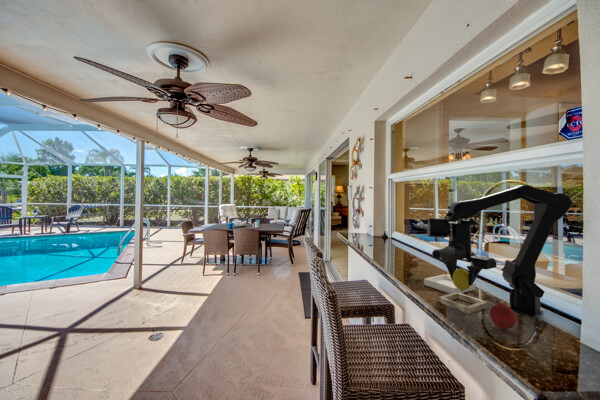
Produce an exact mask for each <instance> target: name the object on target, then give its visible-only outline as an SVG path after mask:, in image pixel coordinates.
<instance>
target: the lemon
mask: <svg viewBox="0 0 600 400" xmlns="http://www.w3.org/2000/svg"><path fill="white" fill-rule="evenodd" d="M452 280H453V283H454V285H455V286H456V287H457V288H459V289H460V290H461V291H464V290H466V289H468V288H469V287H470V285H469V271H467V270H466V269H464V268H463V267H460V268H456V270H455V271H454V273H453V277H452Z"/></svg>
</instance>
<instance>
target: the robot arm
mask: <svg viewBox="0 0 600 400" xmlns="http://www.w3.org/2000/svg"><path fill="white" fill-rule="evenodd" d="M522 199H523V200H524V201H526V202H528V203H530V204H533V205H534V206H533V214H534V216H533V217H534V218H533V221H532V223H531V225H530V228H529V230H528V231H527V234H526V236H525V238H524V240H523V242H522V245H521V247H520V248H519V252H518V253H517V255H516V257H515V258H514V259H513V260H509V259H506V260H505V262H504V266H503V267H502V268H501V269H500V271H501V272H502V273H501V276H502V278H503V280H504V281H505V282H507V283H508V285H509V287H510V288H512V289H511V290H510V293H509V307H510V308H511V309H512V310H513V311H515V312H518V313H520V314H523V315H526V316H529V317H532V318H533V317H536V316H538V315H541V314H544V310H541V298H543V296H544V295H545V291H544V289H542V288H541V287H540V286H538V284H536V283H535V282H536V276H537V272H536V263H537V261H538V259H539V257H540V255H541V253H542V251H543V248H544V247H545V244H546V242H547V240H548V238H549V235H550V234H551V232H552V229H553V228H554V225H555V224H556V222H558V221H559V220H561V219H562V218H563V217H565V215H566V214H567V213H568V212H569V210H570V208H571V207H572V206H573V205H572V204H573V200H572V199H571V198H570V197H569V195H567V194H565V193H561V192H557V193H555V192H552V191H549V190H544V189H541V188H536V187H533V186H531V185H529V184H522V185H521V184H520V185H519V184H518V185H516V186H513V187H512V188H508V189H504V190H502V191H498V192H495V193H492V194H489V195H485V196H481V197H479V198H475V199H473V198H472V199H467V200H460V201H455V202H453V203H451V204H450V206H449V208H448V212H447V213H446V214H445V216H444V217H442V218H434V217H428V222H427V226H426V232H427V237H429V238H447V237H448V236H450V235H451V239H450V240H448V244H447V246H445V247H443V248H438V249H433V250H432V253H431V255H432V256H431V257H432V258H433V259H437V260H439V261H440V262H441V263H443V264H444V265H445V267H446V269H447V270H448V273H449V276H451V279H452V277H453V273H454V271H455V270H457V267H458V266H457V263H458V261H461V262H466V263H470V265H467V266H466V268H467V270H468V273H469V285H470V286H471V285H473V283H475V281H476V279H477V277H478V275H479V274H480V272H481V271H482V270H491V269H494V268H497V261H496V259H495V258H493V257H489V256H483V255H481V256H477V257H474V256H475V255H474V252H472V245H474V242H475V241H474V240H472V226H479V223H478V222H477V221H476V220H475V219H474V218H471V217H473V216H476V215H477V214H479V213H480V212H482V211H483V210H486V209H490V208H493V207H497V206H499V205H504V204H506V203H509V202H514V201H517V200H522Z"/></svg>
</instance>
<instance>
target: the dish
mask: <svg viewBox="0 0 600 400" xmlns="http://www.w3.org/2000/svg"><path fill="white" fill-rule="evenodd" d="M423 283H424V286H427V287H430V288H433V289H436V290H438V291H441V292H444V293H447V294H451V293H455V292H459V293H462V294H464V293H467V292H471V291H475V290H476V283H475V282H474V283H473V285H471V286H470V287H469V288H468V289H466V290H464V291H461V290H460V289H459V288H457V287H456V286H455V285H454V283H453V280H452V279H451V276H450V274H449V275H448V274H445V273H444V274H439V275H435V276H430V277H425V278H424V282H423Z"/></svg>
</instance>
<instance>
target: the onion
mask: <svg viewBox="0 0 600 400" xmlns="http://www.w3.org/2000/svg"><path fill="white" fill-rule="evenodd" d="M489 317H490V320H491V321H492V322H493V324H495V325H496V326H497V327H498V328H500V330H507V329H511V328H512V327H514V326H515V325H516V323H517V315H516V313H515V312H514V310H512V309H511V308H510V305H509V306H508V305H507V304H506V301H504V300H503V299H502V300H500V301H499V303H496V304H495V305H493V306H492V307H490V310H489Z"/></svg>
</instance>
